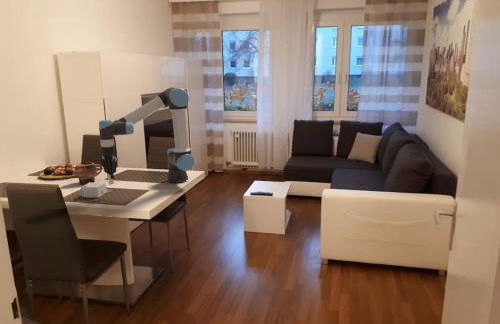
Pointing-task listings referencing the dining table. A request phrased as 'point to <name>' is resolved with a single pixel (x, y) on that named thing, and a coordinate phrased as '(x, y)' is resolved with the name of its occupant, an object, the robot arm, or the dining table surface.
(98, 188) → the light bulb box
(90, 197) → the mat
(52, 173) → the wooden plate with food
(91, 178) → the brown rounded vessel
